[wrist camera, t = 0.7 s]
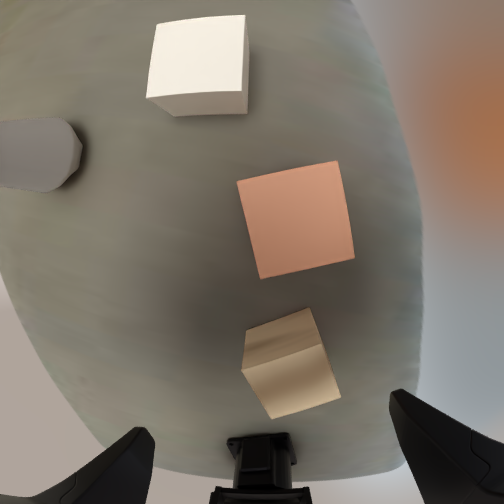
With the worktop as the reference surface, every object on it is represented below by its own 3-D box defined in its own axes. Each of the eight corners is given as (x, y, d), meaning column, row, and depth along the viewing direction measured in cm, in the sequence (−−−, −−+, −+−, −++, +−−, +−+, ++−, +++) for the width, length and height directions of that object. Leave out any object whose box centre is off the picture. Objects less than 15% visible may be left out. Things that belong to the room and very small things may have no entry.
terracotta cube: (332, 238, 18) (354, 258, 14) (261, 254, 19) (260, 279, 14) (318, 166, 17) (337, 160, 13) (244, 181, 18) (236, 181, 13)
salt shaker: (100, 166, 18) (-48, 170, 5) (54, 203, 19) (-73, 234, 6) (79, 107, 17) (-49, 76, 4) (36, 147, 17) (-81, 148, 5)
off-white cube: (247, 114, 17) (241, 90, 12) (174, 116, 17) (146, 97, 12) (249, 51, 16) (245, 15, 11) (180, 55, 16) (157, 24, 11)
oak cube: (328, 356, 21) (341, 397, 16) (270, 376, 21) (271, 419, 17) (309, 306, 20) (321, 343, 15) (246, 329, 20) (241, 370, 16)
